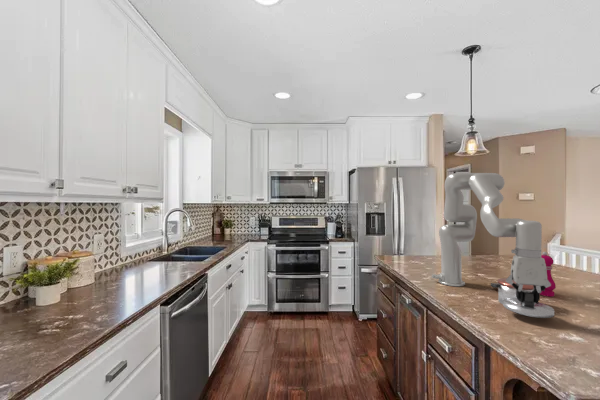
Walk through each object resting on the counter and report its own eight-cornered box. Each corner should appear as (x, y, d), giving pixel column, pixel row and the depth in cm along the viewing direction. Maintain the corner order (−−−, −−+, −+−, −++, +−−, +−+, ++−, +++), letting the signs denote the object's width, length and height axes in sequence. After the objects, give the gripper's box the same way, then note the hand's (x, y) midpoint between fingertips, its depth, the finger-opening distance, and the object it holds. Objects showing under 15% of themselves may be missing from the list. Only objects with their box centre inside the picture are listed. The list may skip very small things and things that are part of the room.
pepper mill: (550, 292, 134) (550, 250, 134) (559, 297, 127) (558, 253, 127) (532, 291, 136) (531, 250, 136) (539, 296, 129) (539, 252, 129)
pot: (497, 307, 116) (497, 285, 116) (486, 296, 129) (486, 277, 129) (552, 312, 110) (552, 289, 110) (535, 300, 123) (534, 280, 123)
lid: (512, 314, 101) (512, 297, 101) (497, 299, 115) (497, 284, 115) (563, 320, 96) (564, 301, 96) (541, 304, 111) (541, 287, 110)
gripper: (506, 254, 104) (505, 302, 105) (561, 256, 99) (560, 308, 100) (498, 250, 111) (498, 296, 112) (549, 252, 106) (549, 300, 107)
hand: (527, 301), depth 106 cm, fingers closed on lid, 4 cm apart
